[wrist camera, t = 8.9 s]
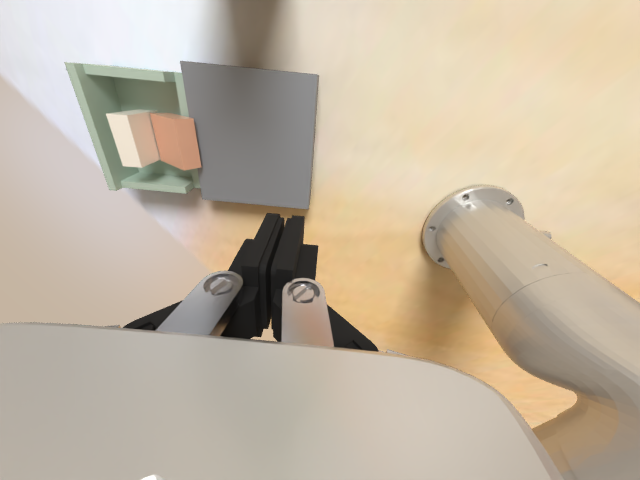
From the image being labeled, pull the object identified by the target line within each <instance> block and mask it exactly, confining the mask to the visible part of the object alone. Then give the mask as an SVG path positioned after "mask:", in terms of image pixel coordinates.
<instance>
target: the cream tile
mask: <svg viewBox="0 0 640 480" xmlns="http://www.w3.org/2000/svg"><path fill="white" fill-rule="evenodd" d="M150 113H157V110H145V109H136V110H129V111H122V112H115V113H107V114H106V116H107V119H108V122H109V125H110V128H111V131H112V134H113V137H114V140H115V143H116V146H117V149H118V153H119V156H120V159H121V162H122V165H123V166H126V167H139V168H143V167H145V166H147V165H149V164H151V163H154V162H156V161H158V160H160V159H161V158H160V154H159V150H158V146H157V141H156V137H155V133H154V129H153V125H152V120H151V116H150Z"/></svg>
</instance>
